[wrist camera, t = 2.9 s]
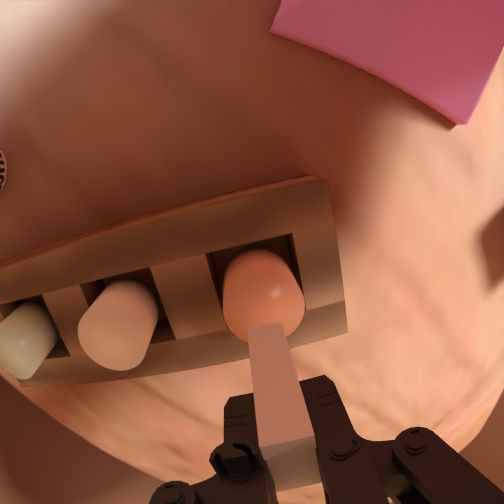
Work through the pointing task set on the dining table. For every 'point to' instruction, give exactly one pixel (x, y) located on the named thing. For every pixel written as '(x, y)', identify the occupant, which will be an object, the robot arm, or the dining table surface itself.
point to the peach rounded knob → (120, 324)
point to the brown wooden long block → (183, 277)
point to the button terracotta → (260, 292)
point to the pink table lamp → (407, 44)
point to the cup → (3, 170)
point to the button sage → (26, 339)
